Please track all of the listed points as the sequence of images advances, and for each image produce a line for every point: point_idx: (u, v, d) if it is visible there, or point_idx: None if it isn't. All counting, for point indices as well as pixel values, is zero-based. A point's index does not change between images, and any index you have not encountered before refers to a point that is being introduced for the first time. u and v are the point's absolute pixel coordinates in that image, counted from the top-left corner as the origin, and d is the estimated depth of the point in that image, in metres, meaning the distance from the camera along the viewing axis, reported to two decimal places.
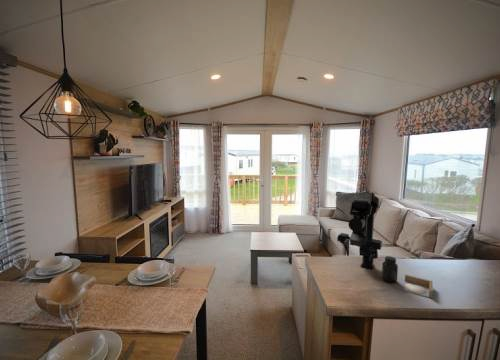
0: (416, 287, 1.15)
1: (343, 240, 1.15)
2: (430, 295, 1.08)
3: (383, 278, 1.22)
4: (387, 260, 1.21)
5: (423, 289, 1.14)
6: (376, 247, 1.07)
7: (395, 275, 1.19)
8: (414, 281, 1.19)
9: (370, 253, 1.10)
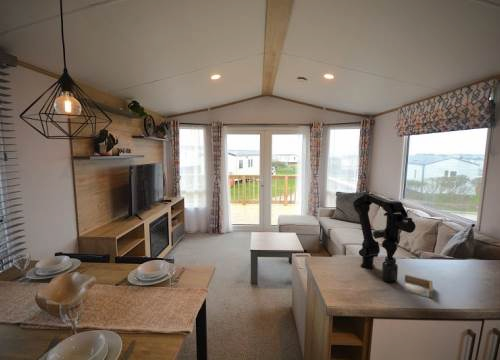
0: (416, 287, 1.15)
1: None
2: (430, 295, 1.08)
3: (383, 278, 1.22)
4: (387, 260, 1.21)
5: (423, 289, 1.14)
6: (382, 244, 1.16)
7: (395, 275, 1.19)
8: (414, 281, 1.19)
9: None
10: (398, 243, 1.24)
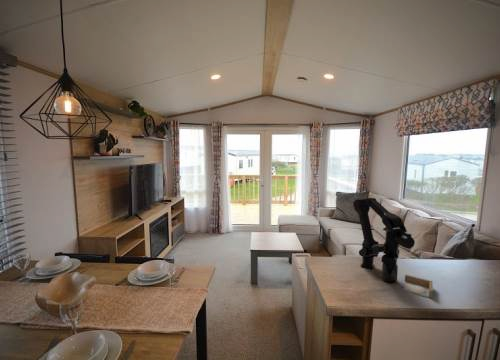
0: (416, 287, 1.15)
1: None
2: (430, 295, 1.08)
3: (383, 278, 1.22)
4: None
5: (423, 289, 1.14)
6: None
7: (395, 275, 1.19)
8: (414, 281, 1.19)
9: (386, 265, 1.19)
10: (397, 258, 1.24)
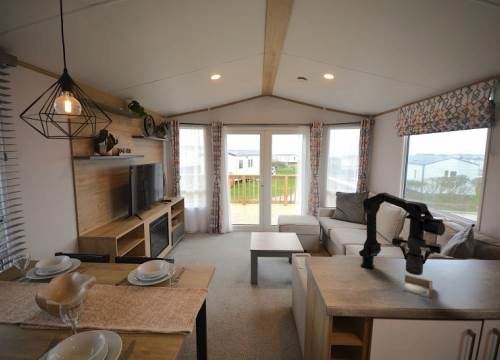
0: (416, 287, 1.15)
1: (398, 243, 1.15)
2: (430, 295, 1.08)
3: (419, 272, 1.11)
4: (420, 251, 1.12)
5: (423, 289, 1.14)
6: (436, 251, 1.06)
7: None
8: (414, 281, 1.19)
9: (426, 256, 1.10)
10: None
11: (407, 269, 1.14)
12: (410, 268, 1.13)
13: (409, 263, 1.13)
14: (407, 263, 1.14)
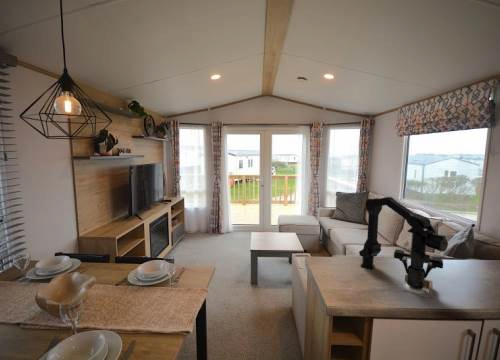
0: None
1: (401, 257, 1.15)
2: (430, 295, 1.08)
3: (421, 286, 1.12)
4: (422, 265, 1.12)
5: (423, 289, 1.14)
6: (438, 266, 1.07)
7: None
8: None
9: (427, 270, 1.10)
10: None
11: (409, 283, 1.14)
12: (412, 282, 1.13)
13: (412, 277, 1.13)
14: (409, 277, 1.14)
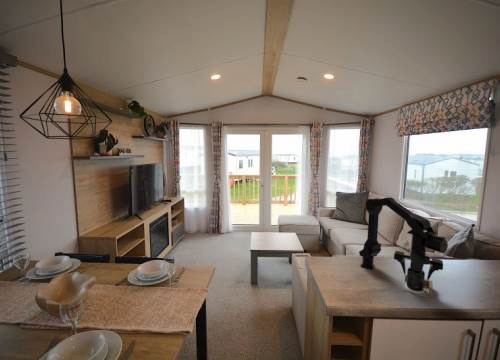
0: None
1: (401, 259, 1.15)
2: (430, 295, 1.08)
3: (421, 288, 1.12)
4: (421, 267, 1.12)
5: None
6: (438, 267, 1.07)
7: None
8: None
9: (430, 272, 1.10)
10: None
11: (409, 285, 1.14)
12: (412, 284, 1.13)
13: (411, 279, 1.13)
14: (409, 279, 1.14)
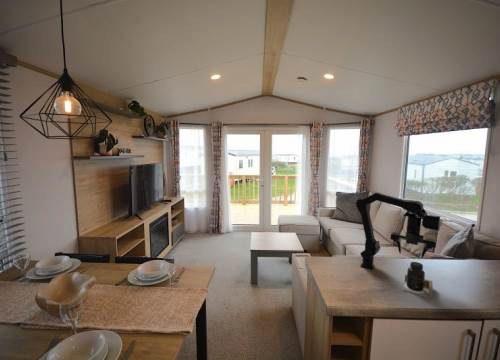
0: None
1: (397, 239, 1.24)
2: (430, 295, 1.08)
3: (421, 288, 1.12)
4: (421, 267, 1.12)
5: None
6: (431, 245, 1.15)
7: None
8: None
9: (424, 251, 1.19)
10: (400, 240, 1.28)
11: (409, 285, 1.14)
12: (412, 284, 1.13)
13: (411, 279, 1.13)
14: (409, 279, 1.14)
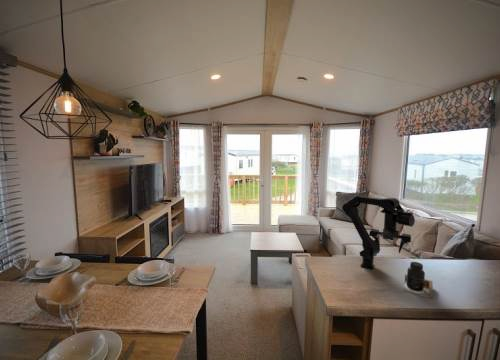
0: None
1: (375, 235, 1.29)
2: (430, 295, 1.08)
3: (421, 288, 1.12)
4: (421, 267, 1.12)
5: None
6: (407, 240, 1.20)
7: None
8: None
9: (401, 246, 1.24)
10: (379, 236, 1.33)
11: (409, 285, 1.14)
12: (412, 284, 1.13)
13: (411, 279, 1.13)
14: (409, 279, 1.14)
